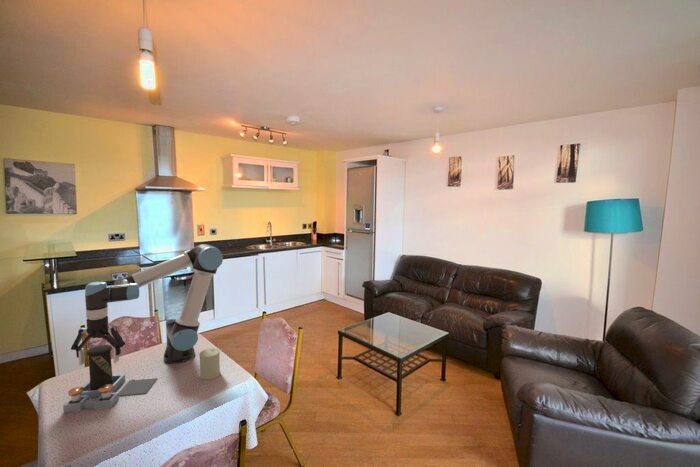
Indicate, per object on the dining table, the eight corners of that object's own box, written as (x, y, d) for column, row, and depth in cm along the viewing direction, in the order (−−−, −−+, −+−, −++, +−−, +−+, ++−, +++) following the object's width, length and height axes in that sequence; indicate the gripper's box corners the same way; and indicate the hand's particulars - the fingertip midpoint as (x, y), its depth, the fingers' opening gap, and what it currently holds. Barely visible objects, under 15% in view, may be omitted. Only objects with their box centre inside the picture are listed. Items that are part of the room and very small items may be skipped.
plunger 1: (87, 400, 133) (86, 386, 132) (79, 407, 128) (78, 392, 127) (74, 401, 132) (73, 387, 131) (66, 409, 127) (65, 394, 126)
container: (100, 396, 137) (98, 352, 135) (84, 393, 139) (81, 350, 137) (119, 385, 145) (116, 344, 144) (103, 382, 147) (100, 342, 145)
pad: (157, 378, 151) (157, 378, 151) (146, 393, 139) (146, 392, 139) (129, 381, 149) (129, 380, 149) (116, 396, 137) (115, 395, 137)
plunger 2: (116, 397, 135) (115, 383, 134) (110, 404, 130) (109, 390, 129) (103, 399, 134) (102, 384, 133) (96, 406, 129) (96, 391, 128)
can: (223, 370, 160) (223, 347, 159) (214, 380, 151) (213, 356, 150) (206, 369, 161) (205, 346, 160) (196, 379, 152) (195, 355, 150)
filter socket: (125, 380, 150) (124, 374, 149) (110, 396, 137) (109, 390, 137) (94, 382, 147) (94, 376, 147) (76, 399, 135) (75, 393, 134)
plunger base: (118, 398, 135) (118, 392, 135) (111, 407, 130) (110, 401, 129) (73, 403, 132) (73, 396, 132) (63, 412, 126) (63, 405, 126)
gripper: (132, 313, 145) (134, 357, 147) (70, 315, 140) (73, 360, 142) (124, 318, 138) (126, 365, 139) (58, 321, 133) (61, 369, 135)
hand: (99, 362), depth 141 cm, fingers open, 13 cm apart
